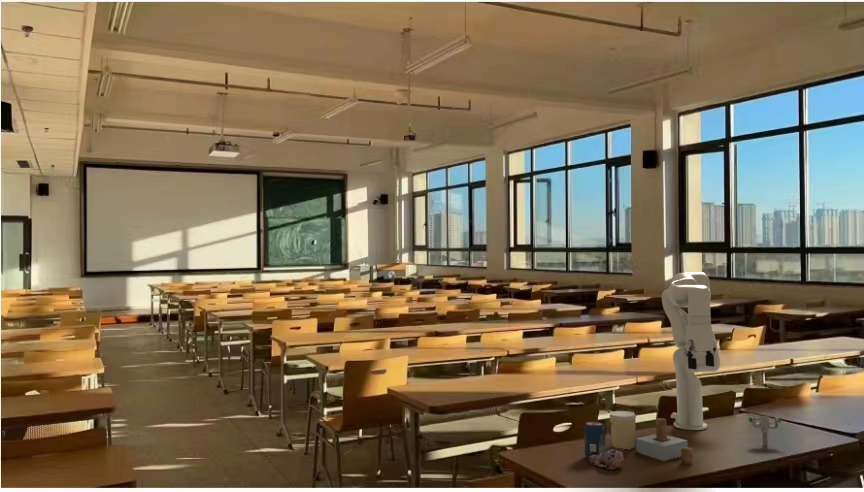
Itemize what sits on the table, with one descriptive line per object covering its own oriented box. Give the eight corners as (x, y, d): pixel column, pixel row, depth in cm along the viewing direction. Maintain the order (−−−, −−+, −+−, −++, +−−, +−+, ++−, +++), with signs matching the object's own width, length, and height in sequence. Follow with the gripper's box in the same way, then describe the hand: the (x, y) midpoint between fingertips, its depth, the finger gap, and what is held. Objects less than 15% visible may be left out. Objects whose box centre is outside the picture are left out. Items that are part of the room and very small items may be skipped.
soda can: (587, 454, 231) (586, 420, 231) (607, 456, 228) (606, 421, 228) (583, 459, 225) (581, 424, 225) (603, 462, 222) (602, 426, 222)
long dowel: (654, 453, 230) (653, 419, 230) (661, 451, 231) (660, 417, 232) (662, 455, 227) (661, 421, 227) (669, 454, 228) (668, 419, 228)
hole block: (636, 452, 231) (636, 438, 231) (660, 446, 237) (659, 433, 237) (664, 461, 221) (663, 446, 221) (687, 455, 227) (687, 440, 227)
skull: (585, 465, 219) (584, 447, 219) (598, 460, 224) (598, 442, 224) (615, 473, 210) (615, 454, 210) (629, 468, 215) (628, 449, 215)
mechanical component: (782, 446, 234) (780, 418, 234) (751, 445, 236) (750, 417, 236) (779, 444, 236) (778, 416, 237) (749, 443, 239) (747, 415, 239)
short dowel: (679, 463, 218) (678, 448, 218) (686, 461, 220) (685, 446, 220) (687, 466, 215) (687, 450, 215) (695, 464, 217) (694, 449, 217)
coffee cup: (618, 441, 246) (617, 409, 246) (641, 446, 239) (640, 413, 239) (605, 447, 239) (604, 414, 239) (628, 451, 232) (627, 417, 233)
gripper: (706, 318, 246) (707, 363, 246) (675, 321, 237) (676, 368, 237) (723, 319, 239) (725, 366, 239) (692, 322, 231) (694, 371, 230)
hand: (701, 367), depth 238 cm, fingers open, 9 cm apart
